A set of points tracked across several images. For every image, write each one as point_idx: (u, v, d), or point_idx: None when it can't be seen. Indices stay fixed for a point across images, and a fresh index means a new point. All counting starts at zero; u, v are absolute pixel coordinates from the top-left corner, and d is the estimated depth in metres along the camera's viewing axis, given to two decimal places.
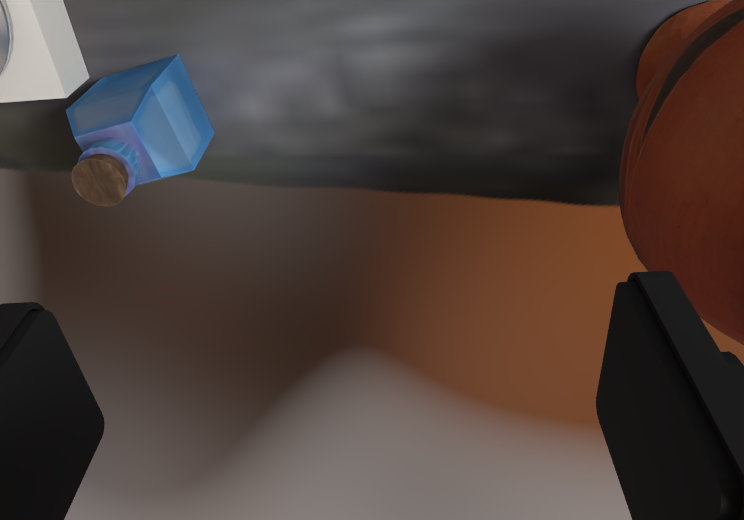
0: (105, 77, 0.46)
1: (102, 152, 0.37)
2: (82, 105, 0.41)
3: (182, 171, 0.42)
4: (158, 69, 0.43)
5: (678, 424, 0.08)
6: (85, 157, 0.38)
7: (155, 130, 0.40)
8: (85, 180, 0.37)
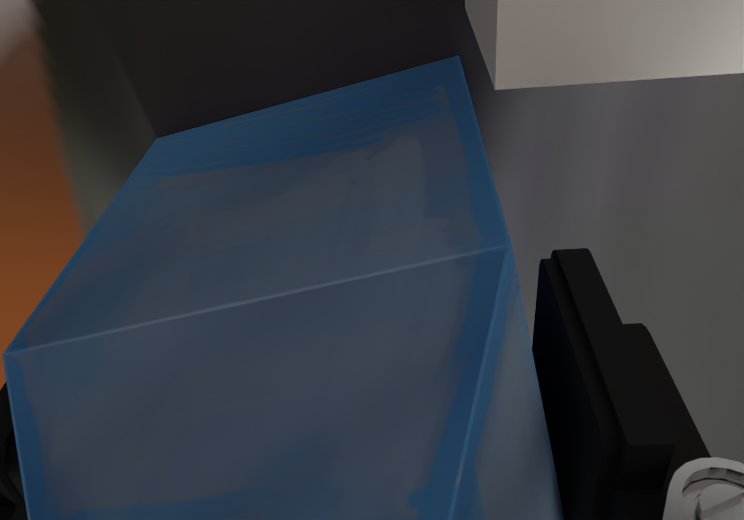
0: None
1: None
2: (525, 323, 0.07)
3: None
4: None
5: (577, 385, 0.08)
6: None
7: None
8: None
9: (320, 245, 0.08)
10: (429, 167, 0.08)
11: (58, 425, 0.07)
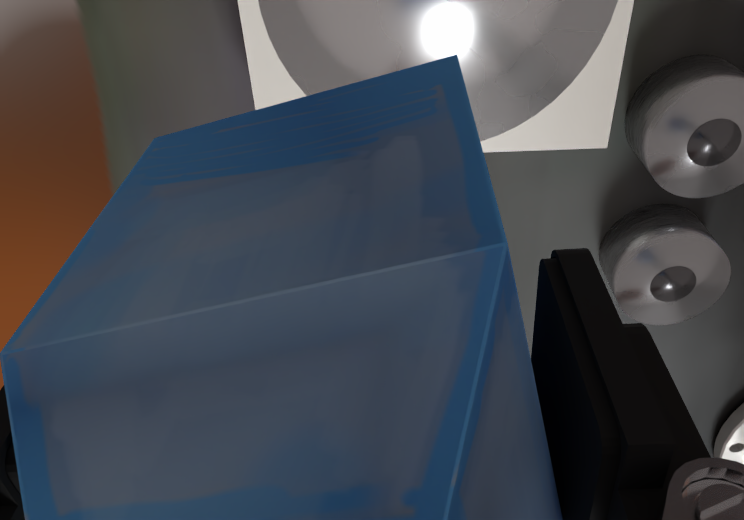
0: None
1: None
2: (522, 322, 0.07)
3: None
4: None
5: (577, 385, 0.08)
6: None
7: None
8: None
9: (317, 245, 0.08)
10: (426, 166, 0.08)
11: (55, 424, 0.07)
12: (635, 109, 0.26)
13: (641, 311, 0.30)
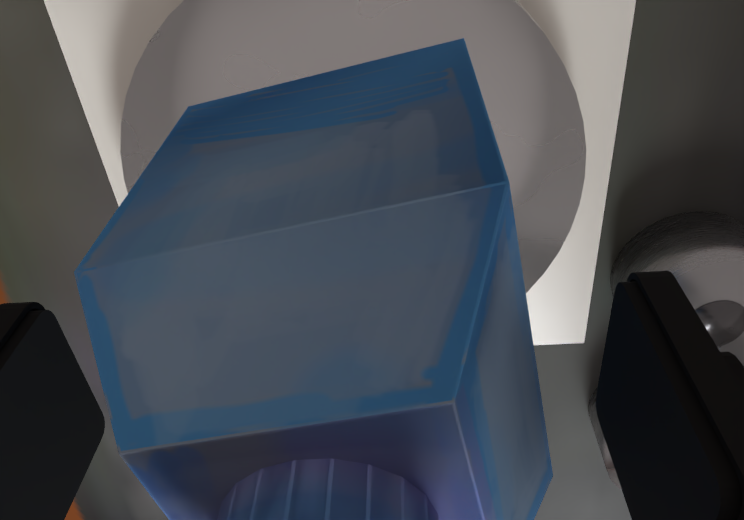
0: None
1: None
2: (518, 253, 0.09)
3: None
4: None
5: (677, 424, 0.08)
6: None
7: None
8: None
9: (348, 187, 0.09)
10: (439, 126, 0.10)
11: (127, 326, 0.08)
12: (620, 273, 0.22)
13: None
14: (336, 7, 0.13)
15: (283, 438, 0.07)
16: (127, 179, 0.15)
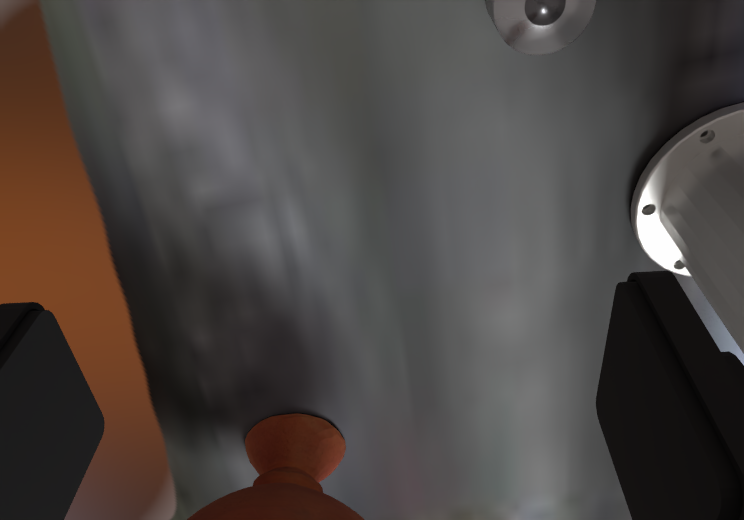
0: None
1: None
2: None
3: None
4: None
5: (678, 424, 0.08)
6: None
7: None
8: None
9: None
10: None
11: None
12: None
13: (522, 40, 0.32)
14: None
15: None
16: None
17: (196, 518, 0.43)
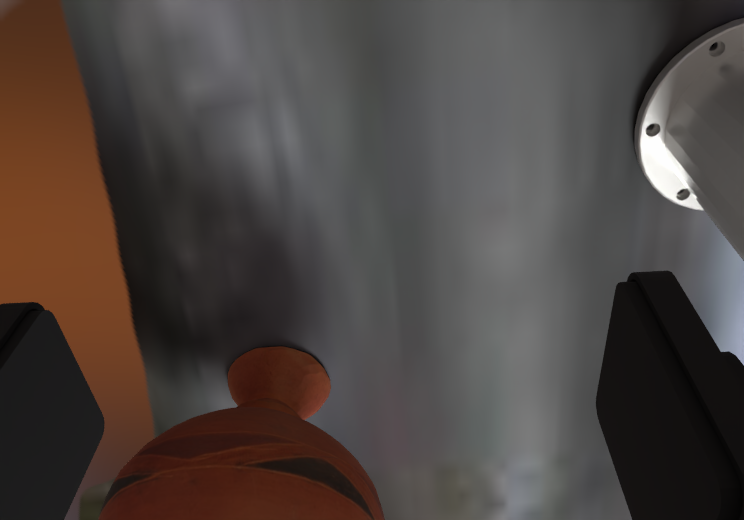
0: None
1: None
2: None
3: None
4: None
5: (678, 424, 0.08)
6: None
7: None
8: None
9: None
10: None
11: None
12: None
13: None
14: None
15: None
16: None
17: (169, 430, 0.41)
